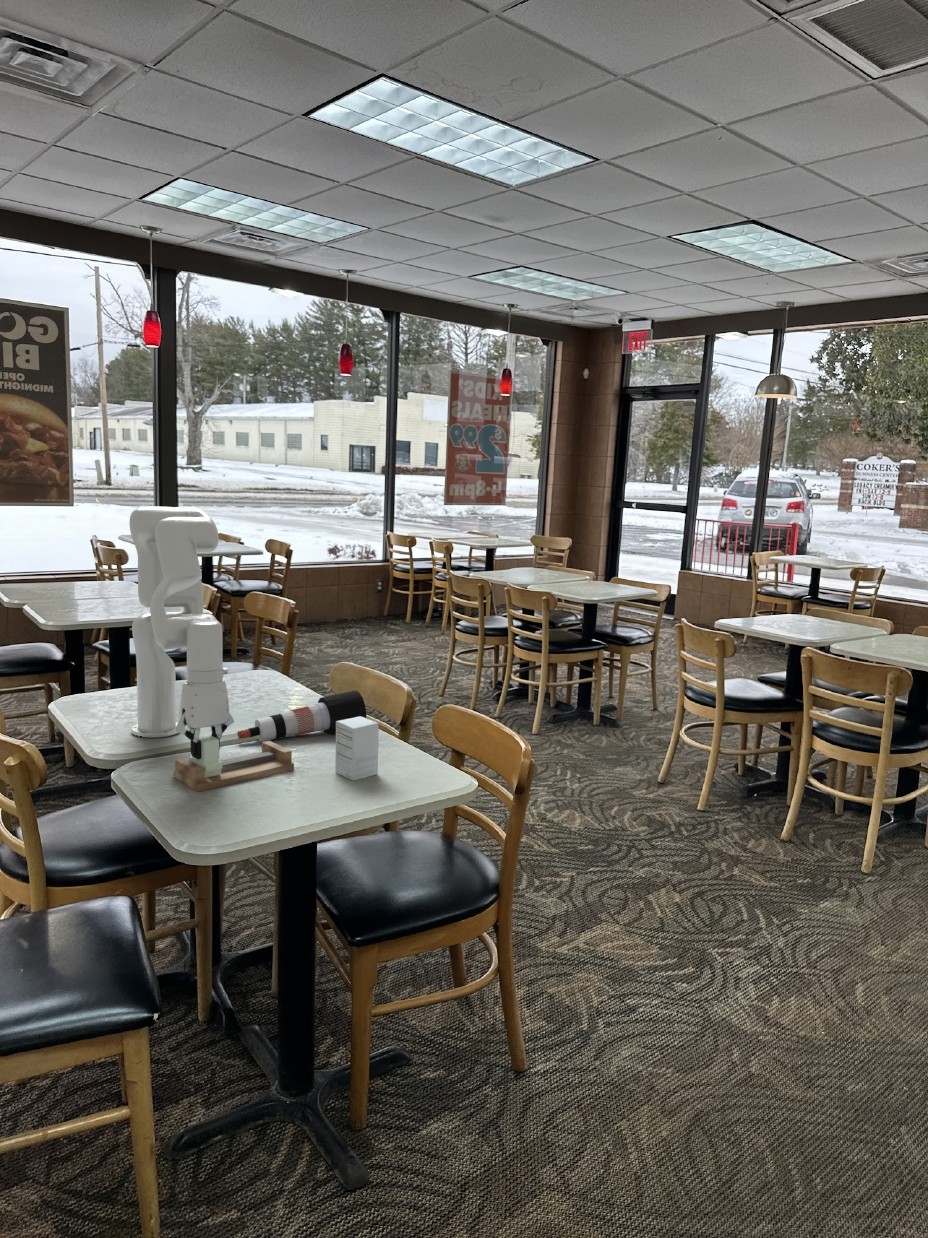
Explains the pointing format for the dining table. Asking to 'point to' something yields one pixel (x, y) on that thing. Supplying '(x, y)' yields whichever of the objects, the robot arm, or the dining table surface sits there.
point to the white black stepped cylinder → (308, 718)
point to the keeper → (208, 755)
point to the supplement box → (357, 748)
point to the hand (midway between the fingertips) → (205, 755)
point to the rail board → (237, 768)
